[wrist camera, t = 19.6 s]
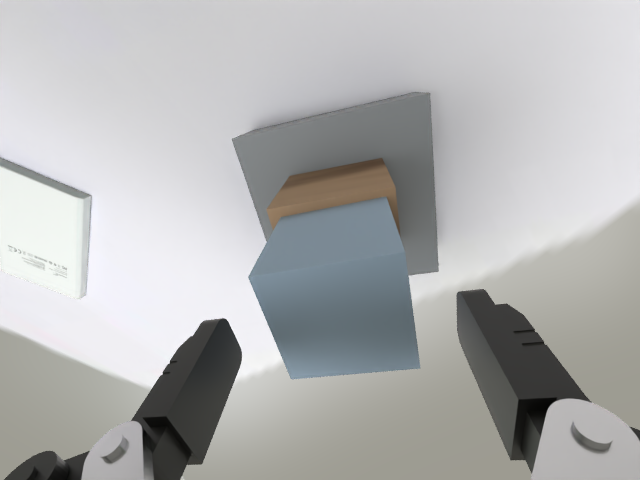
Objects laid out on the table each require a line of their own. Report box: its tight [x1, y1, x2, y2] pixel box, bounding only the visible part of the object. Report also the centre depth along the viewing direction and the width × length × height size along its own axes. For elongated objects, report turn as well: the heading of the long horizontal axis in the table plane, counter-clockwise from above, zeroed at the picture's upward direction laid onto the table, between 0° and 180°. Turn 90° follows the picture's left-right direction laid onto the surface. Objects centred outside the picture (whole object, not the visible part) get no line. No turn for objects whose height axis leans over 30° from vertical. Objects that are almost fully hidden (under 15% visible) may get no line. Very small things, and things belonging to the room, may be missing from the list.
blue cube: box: [248, 197, 420, 379], centre depth 12 cm, size 5×5×5 cm
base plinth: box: [232, 92, 439, 275], centre depth 22 cm, size 12×12×4 cm
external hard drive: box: [0, 158, 91, 299], centre depth 28 cm, size 2×8×12 cm
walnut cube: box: [266, 158, 401, 238], centre depth 17 cm, size 6×6×6 cm
